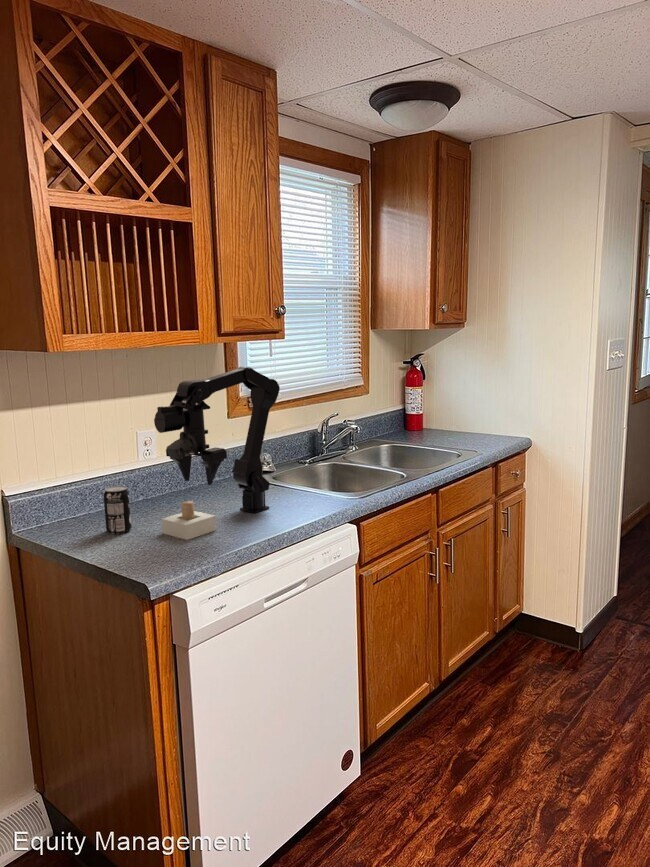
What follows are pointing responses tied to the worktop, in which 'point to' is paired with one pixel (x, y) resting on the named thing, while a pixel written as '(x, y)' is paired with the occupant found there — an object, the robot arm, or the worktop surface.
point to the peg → (187, 510)
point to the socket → (188, 525)
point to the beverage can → (117, 509)
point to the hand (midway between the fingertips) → (198, 482)
